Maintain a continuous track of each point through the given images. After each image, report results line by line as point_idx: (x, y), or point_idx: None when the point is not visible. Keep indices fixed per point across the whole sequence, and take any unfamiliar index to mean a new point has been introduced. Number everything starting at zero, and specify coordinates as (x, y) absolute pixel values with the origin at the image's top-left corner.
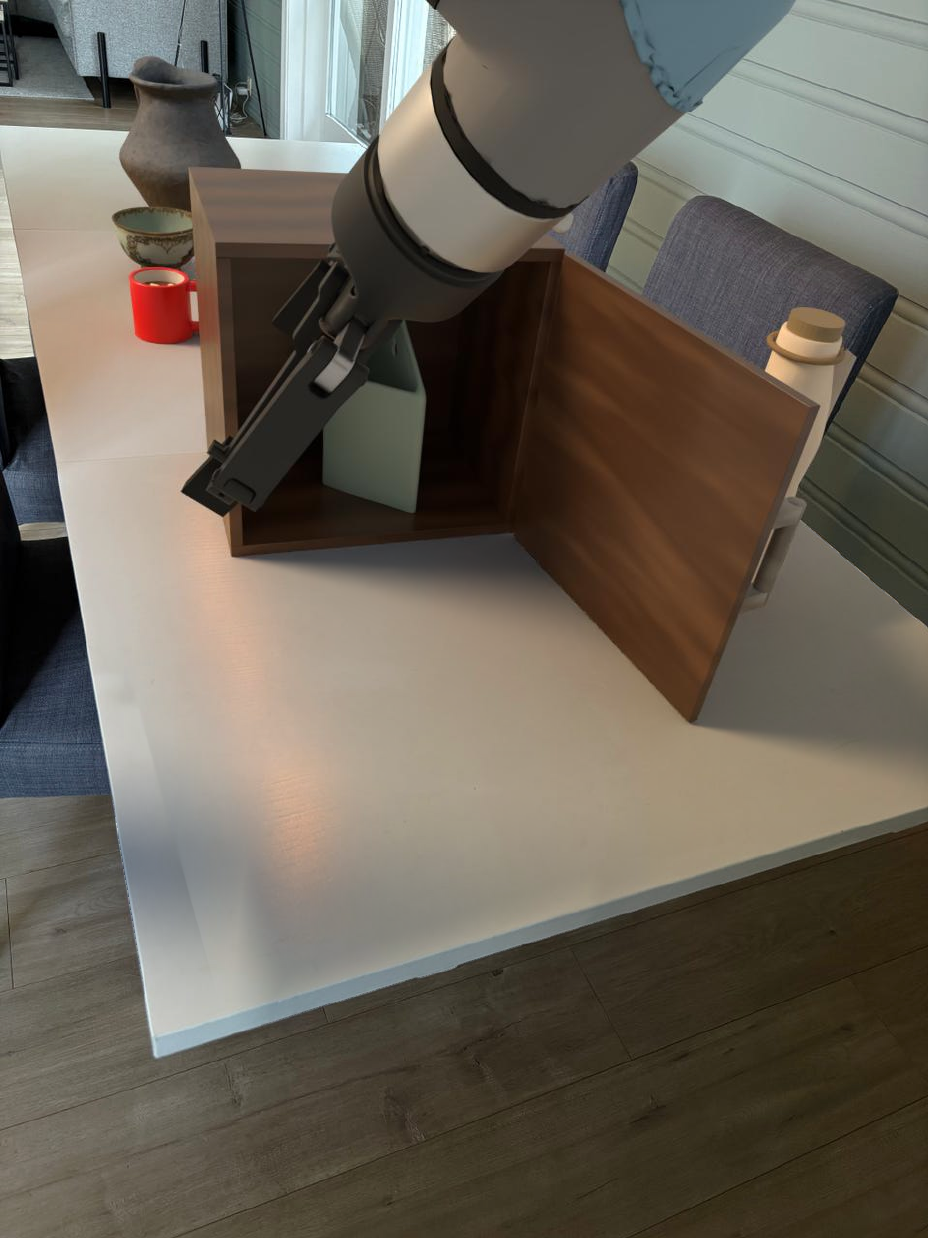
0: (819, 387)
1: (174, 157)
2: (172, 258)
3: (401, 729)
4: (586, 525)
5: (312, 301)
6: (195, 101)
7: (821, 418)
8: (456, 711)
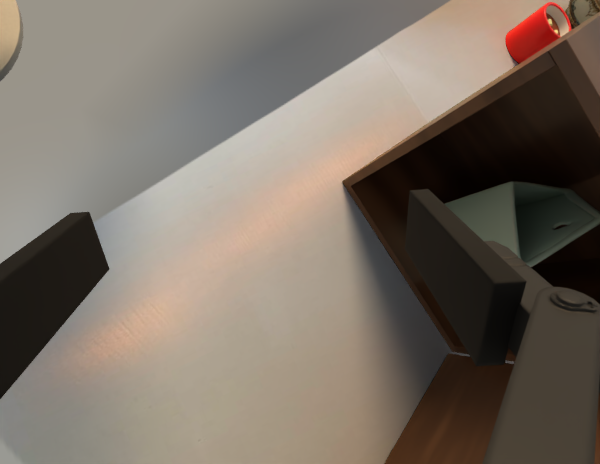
0: None
1: None
2: (583, 21)
3: (233, 364)
4: (459, 442)
5: (446, 263)
6: None
7: None
8: (266, 393)
